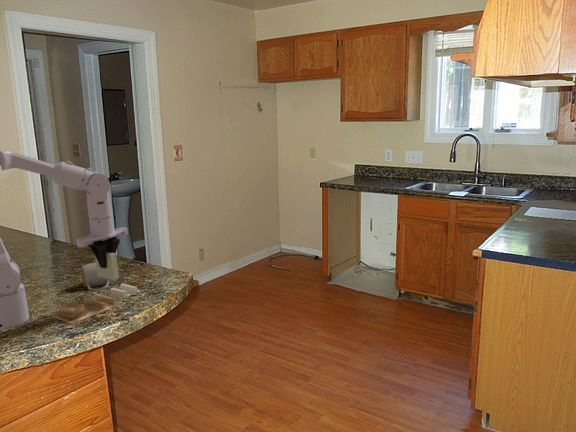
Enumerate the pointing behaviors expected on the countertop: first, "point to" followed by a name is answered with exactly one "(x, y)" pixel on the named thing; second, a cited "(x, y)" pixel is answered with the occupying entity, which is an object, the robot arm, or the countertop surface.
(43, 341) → the countertop surface
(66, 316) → the offcut low
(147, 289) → the countertop surface
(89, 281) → the ceramic mug
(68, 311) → the offcut top
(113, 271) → the pale green square slab
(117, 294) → the stand
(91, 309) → the rack
